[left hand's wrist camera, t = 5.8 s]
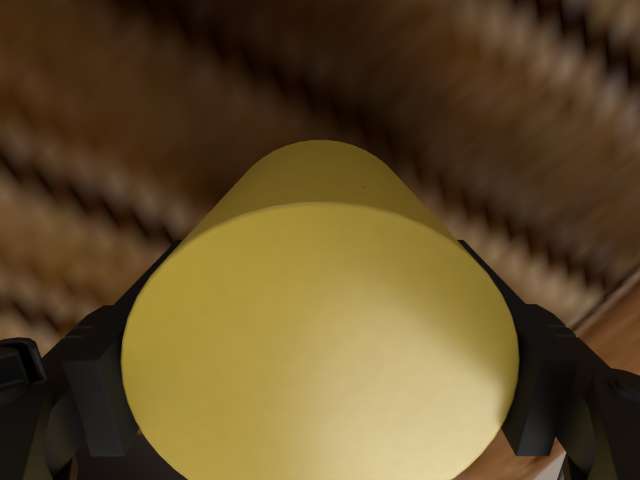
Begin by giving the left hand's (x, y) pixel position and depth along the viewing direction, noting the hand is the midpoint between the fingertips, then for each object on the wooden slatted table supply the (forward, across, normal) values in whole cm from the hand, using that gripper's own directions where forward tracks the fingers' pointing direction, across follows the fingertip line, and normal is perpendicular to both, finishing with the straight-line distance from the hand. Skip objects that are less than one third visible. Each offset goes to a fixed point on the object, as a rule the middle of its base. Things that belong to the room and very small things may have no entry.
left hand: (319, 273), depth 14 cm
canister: (+4, 0, 0) cm, 4 cm away
